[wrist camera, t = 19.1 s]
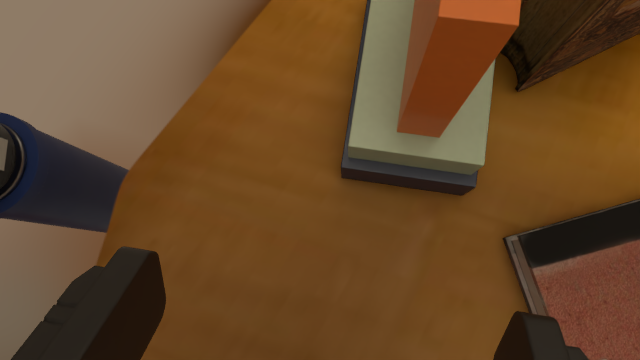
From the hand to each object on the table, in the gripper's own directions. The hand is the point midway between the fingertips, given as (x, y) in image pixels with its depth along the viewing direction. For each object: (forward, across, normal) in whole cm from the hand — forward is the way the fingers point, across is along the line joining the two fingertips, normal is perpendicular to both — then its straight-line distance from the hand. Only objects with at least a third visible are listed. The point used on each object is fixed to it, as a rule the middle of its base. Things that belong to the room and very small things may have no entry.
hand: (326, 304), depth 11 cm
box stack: (+39, -5, +11) cm, 40 cm away
